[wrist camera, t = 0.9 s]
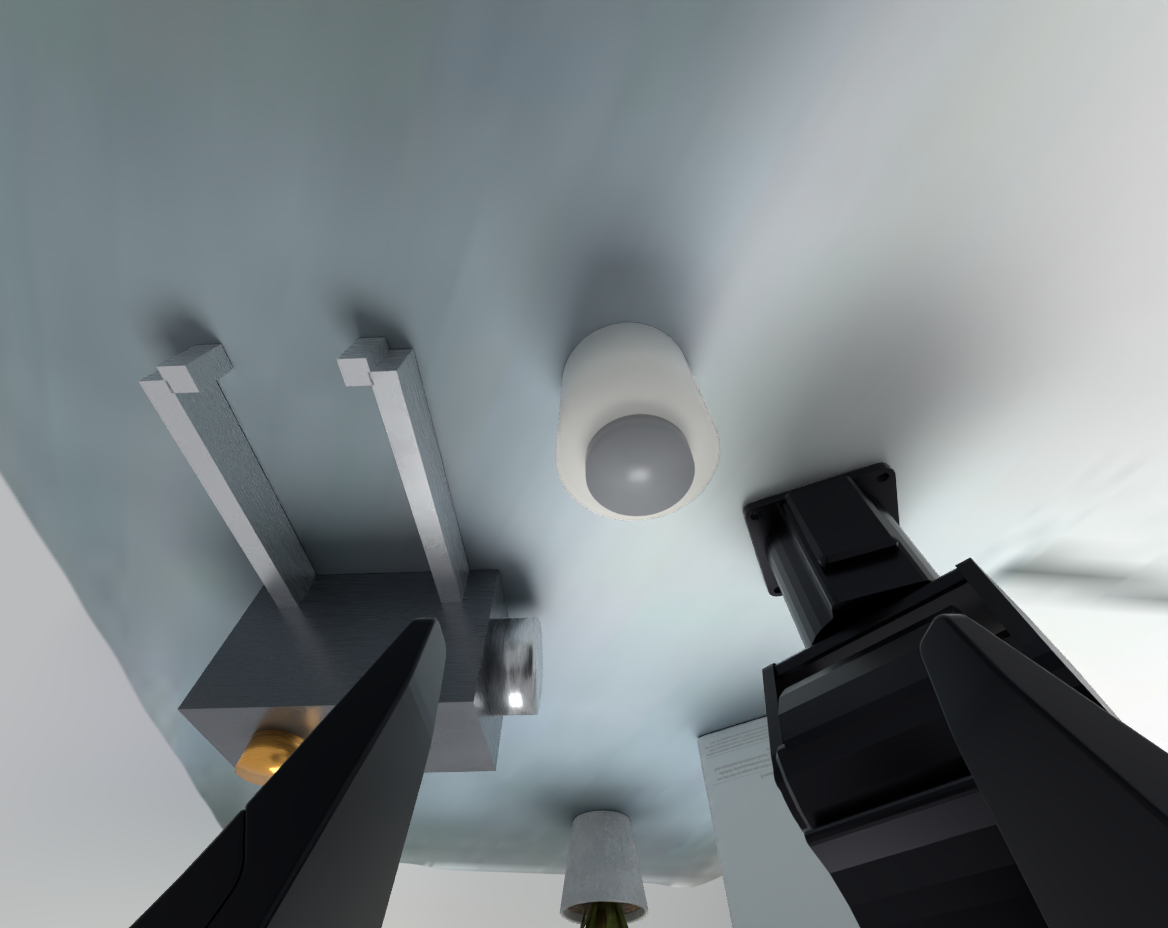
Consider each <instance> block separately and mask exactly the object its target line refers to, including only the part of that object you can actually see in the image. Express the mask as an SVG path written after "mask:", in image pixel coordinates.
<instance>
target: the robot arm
mask: <svg viewBox="0 0 1168 928" xmlns="http://www.w3.org/2000/svg"><path fill="white" fill-rule="evenodd" d="M882 473H883V474H882ZM880 474H882V475H881V476H879V475H880ZM878 476H879V477H878ZM754 512H758V513H756V514H754V515H752V513H754ZM743 515H744V518H745V522H746V525H747V528H748V531H749V534H750V537H751V540H752V543H753V546H754V549H755V553H756V556H757V559H758V562H759V565H760V568H761V571H762V574H763V577H764V581H765V584H766V587H767V589H768V592H769V594H770V595H772V596H782V595H783V597H784V599H785V601H786V604H787V606H788V608H789V611H790V613H791V615H792V618H793V620H794V622H795V625H796V627H797V629H798V632H799V634H800V636H801V639H802V641H803V643H804V646H805V648H806V649H804V650H802V651H801V652H799V653H797V654H795V655H793V656H791V657H789V658H787V659H786V660H784V661H782V662H780V663H778V664H775V663H773V664H771V665H769V666H767V667H766V668H764V669H762V672H763V682H764V693H765V703H766V713H767V723H768V733H769V743H770V753H771V760H772V765H773V774H774V780H775V783H776V785H777V787H778V788H779V790H780V791H781V793H782V796H783V798H784V800H785V802H786V804H787V806H788V808H789V810H790V812H791V814H792V816H793V817H794V819H795V821H796V822H797V824H798V825H799V827H800V829H801V830H802V831H803V833H804V836H805V839H806V842H807V844H808V845H809V847H810V848H811V849H812V851H813V852H814V853H815V855H816V856H817V857H818V859H819V860H820V861H821V863H822V864H823V865H824V867H825V868H826V869H827V871H828V872H829V874H830V875H831V877H832V879H833V880H834V882H835V884H836V885H837V887H838V889H839V890H840V892H841V894H842V895H843V897H844V899H845V900H846V902H847V904H848V905H849V907H850V909H851V911H852V913H853V915H854V917H855V919H856V921H857V923H858V925H859V927H860V928H1168V753H1167V752H1165V751H1164V750H1162V749H1161V748H1159V747H1158V746H1157V745H1155V744H1154V743H1152V742H1151V741H1149V740H1148V739H1146V738H1145V737H1143V736H1142V735H1140V734H1139V733H1138V732H1136V731H1135V730H1133V729H1132V728H1130V727H1129V726H1127V725H1126V724H1124V723H1123V722H1121V720H1120V719H1119V718H1118V717H1117V716H1116V715H1115V713H1114V712H1113V711H1112V710H1111V709H1110V708H1109V707H1108V705H1107V704H1106V703H1105V702H1104V701H1103V700H1102V698H1101V697H1100V696H1099V695H1098V694H1097V693H1096V691H1095V690H1094V689H1093V688H1092V687H1091V686H1090V685H1089V683H1088V682H1087V681H1086V680H1085V679H1084V678H1083V676H1082V675H1081V674H1080V673H1079V672H1078V671H1077V670H1076V669H1075V667H1074V666H1073V665H1072V664H1071V663H1070V662H1069V661H1068V660H1067V659H1066V658H1065V657H1064V655H1063V654H1062V653H1061V652H1060V651H1059V650H1058V649H1057V648H1056V647H1055V646H1054V645H1053V643H1052V642H1051V641H1050V640H1049V639H1048V638H1047V637H1046V636H1045V635H1044V634H1043V633H1042V632H1041V630H1040V629H1039V628H1038V627H1037V626H1036V625H1035V624H1034V623H1033V622H1032V621H1031V620H1030V618H1029V617H1028V616H1027V615H1026V614H1025V613H1024V612H1023V611H1022V610H1021V609H1020V608H1019V607H1018V606H1017V605H1016V604H1015V603H1014V602H1013V601H1012V600H1011V599H1010V598H1009V597H1008V596H1007V595H1006V594H1005V593H1004V591H1003V590H1002V589H1001V588H1000V587H999V586H998V585H997V584H996V583H995V582H994V581H993V580H992V579H991V578H990V577H989V576H988V575H987V574H986V573H985V572H984V571H983V570H982V569H981V568H980V567H979V566H978V565H977V564H976V563H975V562H974V561H973V560H972V559H971V558H968V559H967V560H965V561H963V562H961V563H959V564H957V565H955V566H956V567H957V568H956V569H954V570H952V571H950V572H948V573H946V574H945V575H943V576H941V577H939V575H938V574H937V573H936V572H935V570H934V569H933V568H932V567H931V565H930V564H929V563H928V562H927V560H926V559H925V558H924V556H923V555H922V554H921V553H920V551H919V550H918V549H917V548H916V546H915V545H914V544H913V543H912V541H911V540H910V539H909V538H908V536H907V535H906V534H905V533H904V531H903V530H902V529H901V528H900V526H899V514H898V502H897V489H896V477H895V472H894V470H893V469H892V468H891V467H890V466H889V465H888V464H886V463H878V464H874V465H871V466H868V467H865V468H862V469H858V470H855V471H852V472H849V473H846V474H842V475H839V476H836V477H833V478H829V479H826V480H823V481H820V482H817V483H813V484H810V485H807V486H804V487H801V488H797V489H794V490H791V491H788V492H784V493H781V494H778V495H775V496H772V497H768V498H765V499H762V500H759V501H756V502H752V503H750V504H748V505H747V506H745V507H744V509H743ZM445 659H446V644H445V641H444V637H443V634H442V631H441V627H440V624H439V621H438V620H437V619H436V618H415V619H414V620H412V621H411V622H410V623H409V624H408V625H407V626H406V628H405V629H404V630H403V631H402V632H401V633H400V634H399V635H398V636H397V638H396V639H395V640H394V641H393V642H392V643H391V644H390V645H389V646H388V648H387V649H386V650H385V651H384V652H383V653H382V654H381V655H380V656H379V658H378V659H377V660H376V661H375V662H374V663H373V664H372V665H371V666H370V668H369V669H368V670H367V671H366V672H365V673H364V674H363V675H362V676H361V678H360V679H359V680H358V681H357V682H356V683H355V684H354V685H353V686H352V688H351V689H350V690H349V691H348V692H347V693H346V694H345V695H344V696H343V698H342V699H341V700H340V701H339V702H338V703H337V704H336V705H335V706H334V708H333V709H332V710H331V711H330V712H329V713H328V714H327V715H326V716H325V718H324V719H323V720H322V721H321V722H320V723H319V724H318V725H317V726H316V728H315V729H314V730H313V731H312V732H311V733H310V734H309V735H308V736H307V738H306V739H305V740H304V741H303V742H302V743H301V744H300V745H299V747H298V748H297V749H296V750H295V751H294V752H293V753H292V754H291V755H290V757H289V758H288V759H287V760H286V761H285V762H284V763H283V764H282V765H281V767H280V768H279V769H278V770H277V771H276V772H275V773H274V774H273V775H272V777H271V778H270V779H269V780H268V781H267V782H266V783H265V784H264V785H263V787H262V788H261V789H260V790H259V791H258V792H257V793H256V794H255V795H254V797H253V798H252V799H251V800H250V801H249V802H248V803H247V804H246V807H245V810H241V811H240V812H239V813H238V814H237V815H236V816H235V817H234V819H233V820H232V821H231V822H230V823H229V824H228V825H227V826H226V827H225V829H224V830H223V831H222V832H221V833H220V834H219V835H218V836H217V837H216V838H215V840H214V841H213V842H212V843H211V844H210V845H209V846H208V847H207V848H206V849H205V850H204V851H203V852H202V853H201V855H200V856H199V857H198V858H197V859H196V860H195V861H194V862H193V863H192V864H191V865H190V866H189V868H188V869H187V870H186V871H185V872H184V873H183V874H182V875H181V876H180V877H179V878H178V879H177V880H176V881H175V882H174V883H173V884H172V885H171V886H170V887H169V888H168V889H167V890H166V891H165V892H164V893H163V894H162V895H161V896H160V897H159V898H158V899H157V900H156V901H155V902H154V903H153V904H152V905H151V906H150V907H149V909H147V910H146V911H145V912H144V914H143V915H141V916H140V917H139V918H138V919H137V920H136V921H135V923H134V924H132V925H131V926H130V927H129V928H381V927H382V923H383V920H384V916H385V913H386V909H387V905H388V902H389V898H390V894H391V891H392V887H393V883H394V880H395V876H396V872H397V869H398V865H399V861H400V858H401V854H402V850H403V847H404V843H405V839H406V836H407V832H408V829H409V825H410V821H411V818H412V814H413V810H414V807H415V803H416V799H417V796H418V792H419V788H420V785H421V781H422V777H423V774H424V770H425V766H426V763H427V759H428V755H429V751H430V747H431V743H432V738H433V732H434V727H435V721H436V714H437V708H438V702H439V696H440V690H441V684H442V678H443V672H444V665H445Z"/></svg>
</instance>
